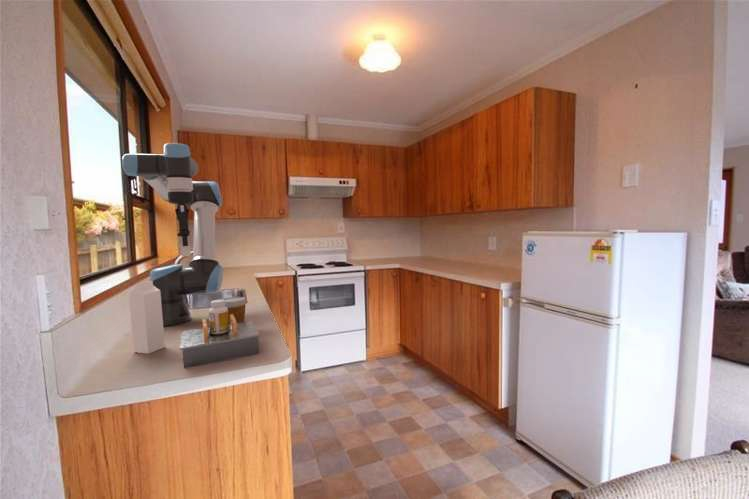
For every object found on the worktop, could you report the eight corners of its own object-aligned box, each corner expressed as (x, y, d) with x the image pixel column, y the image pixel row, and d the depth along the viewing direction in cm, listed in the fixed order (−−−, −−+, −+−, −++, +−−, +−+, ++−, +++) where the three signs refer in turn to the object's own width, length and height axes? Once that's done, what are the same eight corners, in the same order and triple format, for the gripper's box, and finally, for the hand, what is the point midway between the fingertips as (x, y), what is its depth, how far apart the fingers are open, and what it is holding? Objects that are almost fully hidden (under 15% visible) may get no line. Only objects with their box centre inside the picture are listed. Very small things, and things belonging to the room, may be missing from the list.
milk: (133, 352, 107) (127, 283, 105) (151, 345, 113) (145, 280, 111) (148, 354, 105) (142, 284, 104) (165, 347, 111) (159, 280, 109)
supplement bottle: (230, 328, 108) (228, 298, 107) (227, 333, 103) (225, 302, 102) (212, 329, 107) (210, 299, 106) (208, 335, 102) (205, 303, 101)
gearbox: (183, 349, 108) (180, 319, 107) (252, 337, 118) (250, 309, 117) (181, 369, 93) (178, 333, 92) (261, 353, 103) (259, 321, 102)
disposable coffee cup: (225, 328, 130) (223, 297, 129) (251, 326, 131) (249, 295, 130) (216, 336, 121) (214, 303, 120) (244, 334, 121) (242, 301, 120)
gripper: (168, 193, 123) (173, 251, 125) (166, 188, 101) (172, 259, 104) (191, 193, 126) (196, 249, 129) (194, 189, 105) (200, 256, 107)
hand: (185, 254), depth 116 cm, fingers open, 13 cm apart
